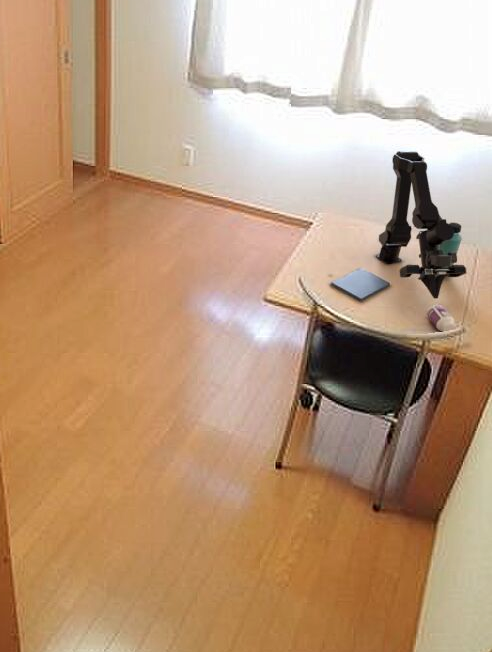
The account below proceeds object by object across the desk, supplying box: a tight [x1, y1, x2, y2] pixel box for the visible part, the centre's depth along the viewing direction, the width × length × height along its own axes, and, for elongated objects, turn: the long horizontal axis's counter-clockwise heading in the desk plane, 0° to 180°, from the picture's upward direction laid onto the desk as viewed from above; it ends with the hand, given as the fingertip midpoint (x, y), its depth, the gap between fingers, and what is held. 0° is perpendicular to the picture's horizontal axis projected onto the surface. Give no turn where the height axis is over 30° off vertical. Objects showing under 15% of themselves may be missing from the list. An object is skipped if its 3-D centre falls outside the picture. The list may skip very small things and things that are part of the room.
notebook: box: [330, 267, 391, 302], centre depth 218 cm, size 16×12×1 cm
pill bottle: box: [425, 304, 457, 332], centre depth 198 cm, size 5×5×10 cm
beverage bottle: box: [440, 222, 463, 268], centre depth 220 cm, size 6×7×20 cm
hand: (435, 298), depth 200 cm, fingers closed
